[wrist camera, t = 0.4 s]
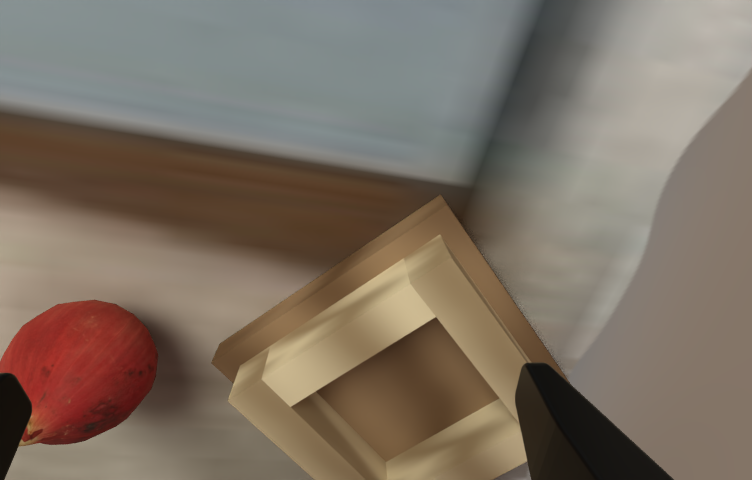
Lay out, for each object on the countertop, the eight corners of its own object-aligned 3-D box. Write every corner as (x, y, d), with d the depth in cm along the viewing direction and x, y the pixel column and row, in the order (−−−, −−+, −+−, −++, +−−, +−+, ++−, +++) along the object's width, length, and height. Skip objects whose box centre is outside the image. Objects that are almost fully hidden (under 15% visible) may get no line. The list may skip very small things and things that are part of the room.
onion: (201, 312, 24) (133, 432, 16) (146, 384, 25) (61, 523, 18) (94, 249, 22) (-35, 350, 15) (42, 330, 24) (-98, 458, 16)
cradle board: (372, 490, 29) (375, 555, 25) (219, 343, 24) (195, 397, 21) (569, 381, 27) (604, 437, 23) (440, 194, 22) (459, 224, 18)
